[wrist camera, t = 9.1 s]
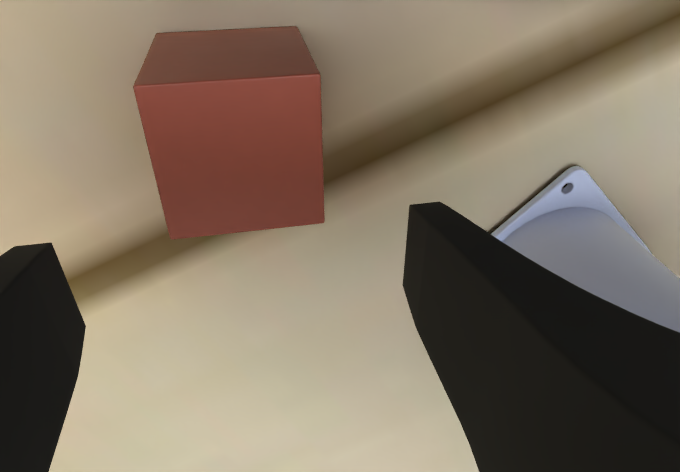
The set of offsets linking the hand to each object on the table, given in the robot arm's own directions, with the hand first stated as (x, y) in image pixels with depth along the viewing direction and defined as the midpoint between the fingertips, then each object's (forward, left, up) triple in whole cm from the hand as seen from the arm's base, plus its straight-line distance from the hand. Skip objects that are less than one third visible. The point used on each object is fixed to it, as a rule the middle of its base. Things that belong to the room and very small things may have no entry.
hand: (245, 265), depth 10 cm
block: (0, 0, -9) cm, 9 cm away
